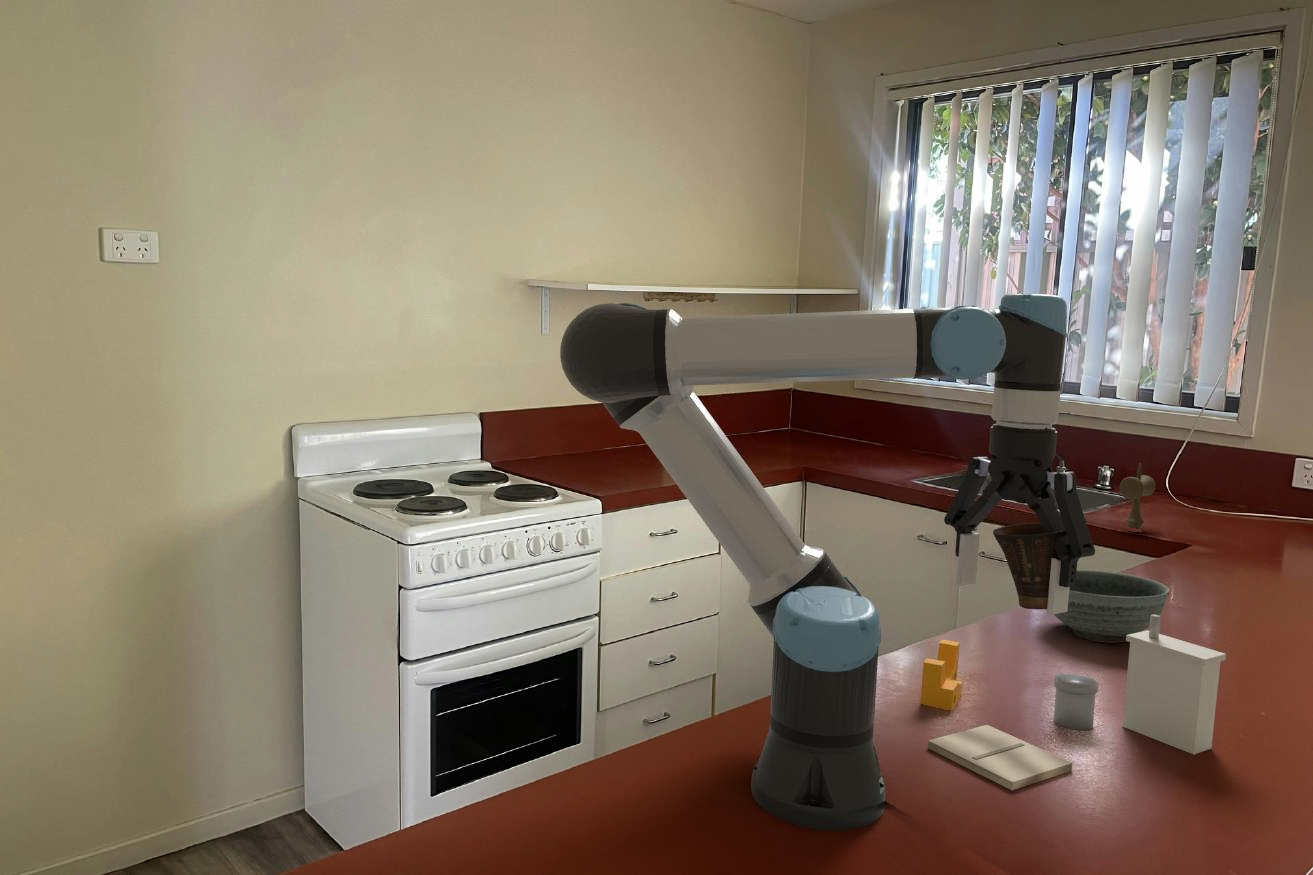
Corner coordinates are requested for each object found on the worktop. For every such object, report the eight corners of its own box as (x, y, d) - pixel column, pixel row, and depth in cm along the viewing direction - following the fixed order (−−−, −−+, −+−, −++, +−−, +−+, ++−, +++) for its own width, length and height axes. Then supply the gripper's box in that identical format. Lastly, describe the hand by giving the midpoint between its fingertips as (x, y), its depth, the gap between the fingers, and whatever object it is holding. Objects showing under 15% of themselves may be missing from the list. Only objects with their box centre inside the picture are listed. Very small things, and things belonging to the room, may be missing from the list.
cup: (980, 596, 126) (983, 516, 125) (1053, 597, 126) (1057, 518, 125) (1003, 614, 117) (1007, 529, 116) (1081, 616, 117) (1086, 530, 116)
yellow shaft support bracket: (951, 712, 141) (954, 667, 141) (920, 705, 143) (923, 661, 143) (968, 686, 152) (971, 644, 151) (939, 680, 154) (942, 639, 153)
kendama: (1113, 538, 262) (1120, 462, 260) (1128, 534, 269) (1135, 459, 266) (1137, 543, 258) (1145, 465, 255) (1152, 538, 264) (1159, 462, 262)
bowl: (1132, 664, 164) (1138, 604, 163) (1013, 631, 179) (1018, 576, 178) (1185, 640, 178) (1190, 584, 176) (1070, 611, 193) (1074, 560, 192)
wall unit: (1195, 756, 129) (1207, 636, 127) (1117, 725, 138) (1128, 613, 136) (1216, 748, 131) (1228, 631, 130) (1138, 719, 141) (1149, 608, 139)
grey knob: (1083, 734, 135) (1086, 690, 134) (1043, 721, 139) (1046, 678, 138) (1102, 723, 138) (1106, 681, 138) (1063, 711, 143) (1066, 670, 142)
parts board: (1011, 790, 118) (1012, 781, 118) (927, 747, 129) (928, 739, 128) (1071, 770, 123) (1072, 761, 123) (986, 731, 134) (987, 723, 134)
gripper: (1139, 436, 113) (1121, 621, 115) (964, 413, 133) (952, 570, 136) (1097, 438, 109) (1079, 630, 111) (923, 414, 130) (912, 576, 132)
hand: (1009, 597), depth 124 cm, fingers open, 13 cm apart
